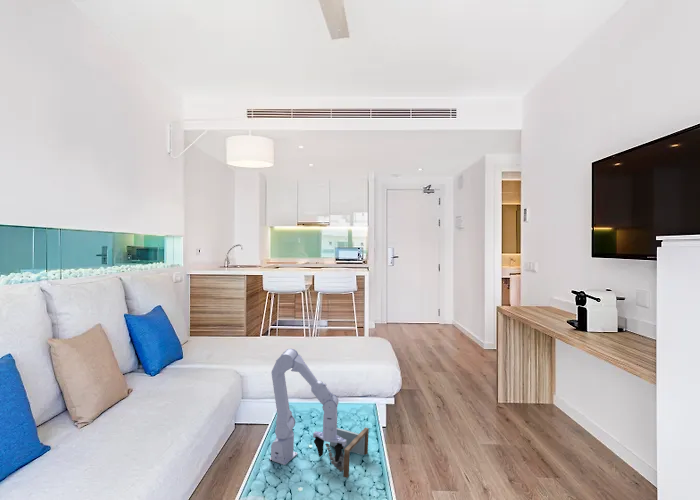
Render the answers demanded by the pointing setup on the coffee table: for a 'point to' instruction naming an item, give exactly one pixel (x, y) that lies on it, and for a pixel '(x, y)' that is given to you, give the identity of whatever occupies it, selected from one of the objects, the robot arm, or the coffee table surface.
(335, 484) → the coffee table surface
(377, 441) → the coffee table surface
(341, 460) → the driftwood
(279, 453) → the robot arm
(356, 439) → the door frame
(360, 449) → the door
